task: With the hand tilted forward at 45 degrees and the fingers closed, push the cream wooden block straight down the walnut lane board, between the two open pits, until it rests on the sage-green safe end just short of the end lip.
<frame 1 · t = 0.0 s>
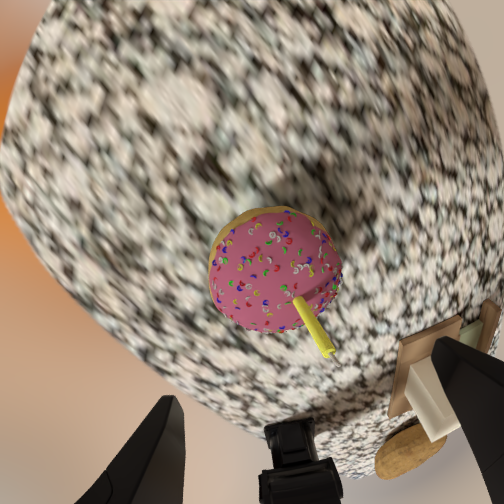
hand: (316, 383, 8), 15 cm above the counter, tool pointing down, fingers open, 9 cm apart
cupcake: (266, 247, 22), on the counter
block: (429, 369, 29), point 1 cm above the counter, touching lane board
lane board: (425, 365, 30), on the counter
potato: (401, 431, 38), on the counter
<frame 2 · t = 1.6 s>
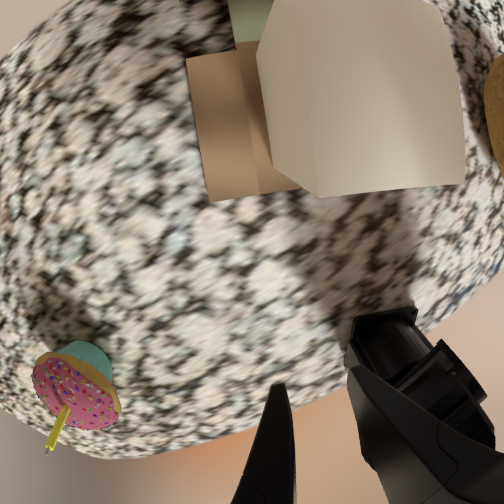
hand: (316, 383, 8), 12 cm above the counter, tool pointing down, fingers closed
cupcake: (91, 358, 22), on the counter
block: (314, 105, 15), point 1 cm above the counter, touching lane board
lane board: (310, 106, 16), on the counter
potato: (495, 125, 17), on the counter
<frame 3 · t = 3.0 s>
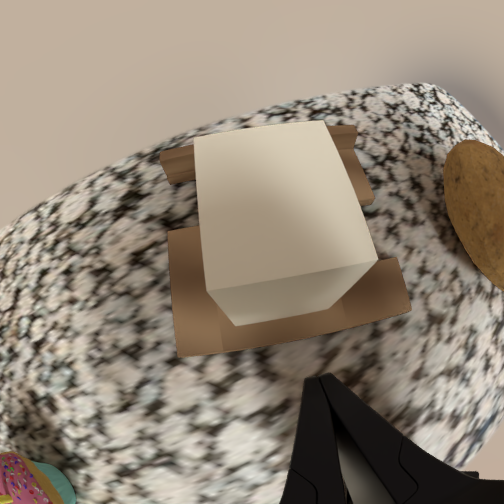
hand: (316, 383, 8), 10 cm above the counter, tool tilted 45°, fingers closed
cupcake: (58, 486, 13), on the counter
block: (272, 266, 19), point 1 cm above the counter, touching lane board
lane board: (272, 271, 20), on the counter
potato: (473, 239, 20), on the counter
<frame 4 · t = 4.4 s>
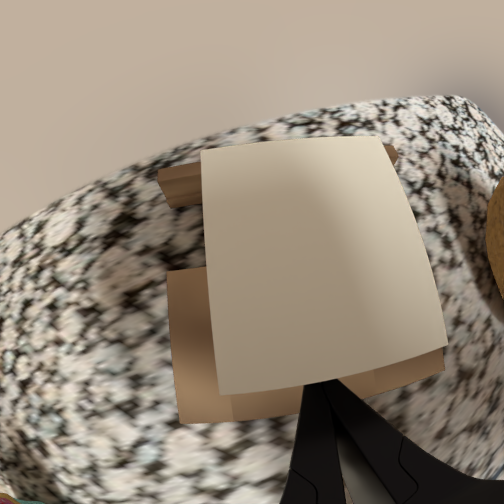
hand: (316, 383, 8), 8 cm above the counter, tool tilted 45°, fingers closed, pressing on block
block: (291, 306, 16), point 1 cm above the counter, touching gripper
lane board: (293, 325, 16), on the counter
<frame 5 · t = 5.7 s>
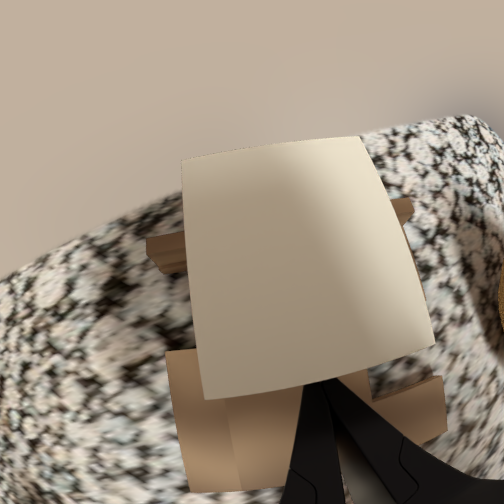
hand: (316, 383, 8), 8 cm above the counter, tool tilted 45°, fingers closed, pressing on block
block: (283, 309, 16), point 1 cm above the counter, touching gripper, lane board
lane board: (298, 401, 15), on the counter
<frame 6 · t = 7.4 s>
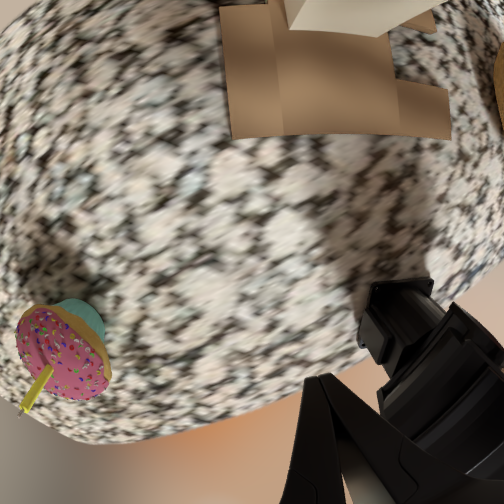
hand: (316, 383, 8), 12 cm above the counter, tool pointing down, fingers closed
cupcake: (83, 321, 21), on the counter
lane board: (334, 62, 15), on the counter
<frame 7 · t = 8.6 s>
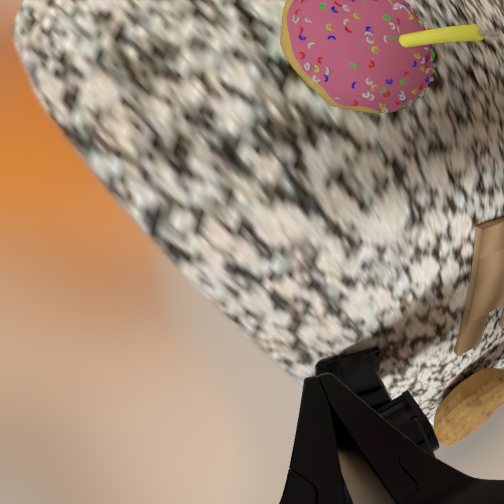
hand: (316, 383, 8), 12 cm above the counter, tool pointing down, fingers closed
cupcake: (332, 59, 15), on the counter
lane board: (495, 276, 23), on the counter
potato: (459, 384, 30), on the counter
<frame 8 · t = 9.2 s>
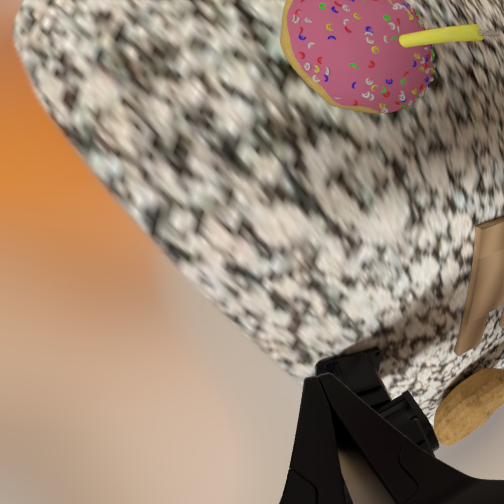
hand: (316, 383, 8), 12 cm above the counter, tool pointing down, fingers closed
cupcake: (332, 59, 15), on the counter
lane board: (495, 276, 23), on the counter
potato: (459, 384, 30), on the counter
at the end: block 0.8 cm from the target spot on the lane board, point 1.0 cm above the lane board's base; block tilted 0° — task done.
